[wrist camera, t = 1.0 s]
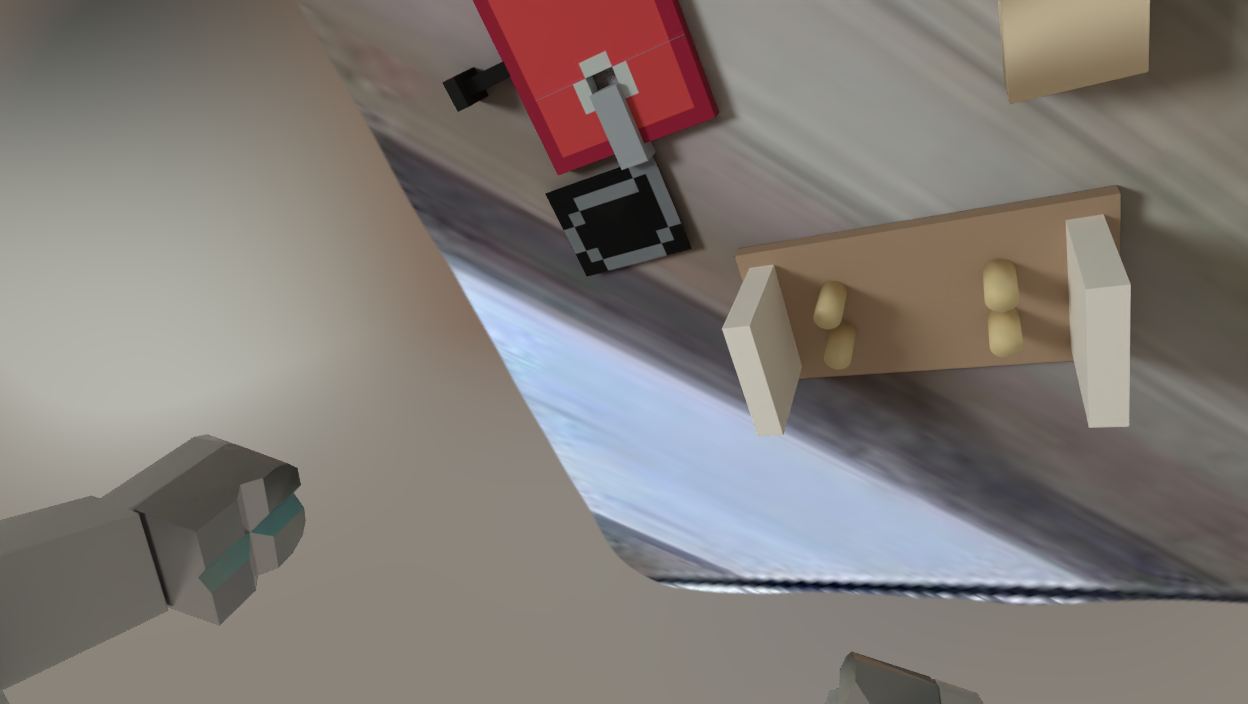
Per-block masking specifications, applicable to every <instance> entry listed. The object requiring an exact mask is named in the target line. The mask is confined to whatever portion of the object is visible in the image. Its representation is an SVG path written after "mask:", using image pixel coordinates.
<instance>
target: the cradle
mask: <svg viewBox="0 0 1248 704" xmlns="http://www.w3.org/2000/svg"><path fill="white" fill-rule="evenodd" d="M1120 223H1121V193H1120V191H1119V189H1118V187H1117V185H1116V186H1110V187H1104V188H1098V189H1092V190H1086V191H1080V192H1074V193H1068V194H1062V195H1056V196H1050V197H1044V198H1038V199H1032V200H1026V201H1020V202H1014V203H1008V204H1002V205H996V206H990V207H985V208H979V209H973V210H967V211H961V212H955V213H949V214H943V215H937V216H931V217H925V218H919V219H913V220H907V221H901V222H895V223H889V224H883V225H877V226H871V227H865V228H859V229H854V230H848V231H842V232H836V233H830V234H824V235H818V236H812V237H806V238H800V239H794V240H788V241H782V242H776V243H770V244H764V245H758V246H752V247H746V248H740V249H738V251H737V253H736V255H735V258H736V262H737V265H738V268H739V271H740V275H741V278H742V281H743V284H742V286H741V288H740V290H739V292H738V295H737V297H736V299H735V301H734V304H733V306H732V308H731V310H730V312H729V315H728V317H727V319H726V321H725V323H724V326H723V328H722V330H723V333H724V336H725V339H726V342H727V345H728V348H729V351H730V354H731V357H732V360H733V363H734V366H735V369H736V372H737V375H738V378H739V381H740V384H741V387H742V390H743V393H744V396H745V399H746V402H747V405H748V408H749V411H750V414H751V417H752V420H753V423H754V426H755V429H756V432H757V435H758V436H770V435H783V434H784V431H785V427H786V423H787V420H788V416H789V412H790V409H791V405H792V401H793V398H794V394H795V390H796V387H797V383H798V379H802V378H817V377H832V376H847V375H862V374H877V373H893V372H908V371H923V370H938V369H953V368H968V367H984V366H999V365H1014V364H1029V363H1044V362H1059V361H1074V363H1075V368H1076V372H1077V376H1078V381H1079V385H1080V390H1081V394H1082V398H1083V403H1084V407H1085V412H1086V416H1087V420H1088V425H1089V427H1129V384H1130V299H1131V284H1130V281H1129V279H1128V276H1127V274H1126V271H1125V269H1124V266H1123V263H1122V261H1121V258H1120Z"/></svg>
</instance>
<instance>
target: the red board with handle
mask: <svg viewBox="0 0 1248 704" xmlns="http://www.w3.org/2000/svg"><path fill="white" fill-rule="evenodd" d="M473 2H474V4H475V6H476V8H477V10H478V12H479V14H480V16H481V18H482V20H483V22H484V24H485V26H486V28H487V30H488V33H489V35H490V37H491V39H492V41H493V43H494V45H495V47H496V49H497V51H498V53H499V55H500V57H501V59H502V61H503V62H501V63H499V64H497V65H495V66H493V67H491V68H489V69H487V70H485V71H483V72H481V73H479V74H477V72H476V70H475V68H474V67H473V68H471V69H469V70H467V71H465V72H463V73H461V74H459V75H456V76H454V77H452V78H450V79H448V80H446V81H445V82H443V85H444V87H445V89H446V90H447V92H448V94H449V96H450V98H451V100H452V102H453V104H454V105H455V107H456V109H457V111H458V112H459V111H461V110H463V109H465V108H467V107H469V106H471V105H473V104H474V103H476V102H478V101H480V100H482V99H483V98H485V97H487V96H489V95H488V93H487V92H486V90H485V89H486V88H488V87H490V86H492V85H494V84H497V83H499V82H501V81H503V80H505V79H507V78H509V77H510V78H511V80H512V82H513V84H514V86H515V88H516V90H517V92H518V94H519V96H520V98H521V100H522V102H523V104H524V106H525V108H526V111H527V113H528V115H529V117H530V119H531V121H532V123H533V125H534V127H535V129H536V131H537V133H538V135H539V137H540V139H541V141H542V143H543V145H544V147H545V150H546V152H547V154H548V156H549V158H550V160H551V162H552V164H553V166H554V168H555V170H556V172H557V174H558V175H561V174H563V173H566V172H569V171H571V170H574V169H577V168H579V167H582V166H585V165H588V164H590V163H593V162H596V161H598V160H601V159H604V158H607V157H609V156H612V155H615V156H616V158H617V160H618V163H619V165H620V167H619V168H616V169H613V170H610V171H608V172H605V173H602V174H599V175H596V176H594V177H591V178H588V179H585V180H582V181H579V182H577V183H574V184H571V185H568V186H565V187H563V188H560V189H557V190H554V191H551V192H549V193H546V196H547V198H548V200H549V202H550V204H551V206H552V208H553V210H554V212H555V214H556V216H557V218H558V220H559V222H560V224H561V226H562V228H563V230H564V232H565V234H566V236H567V238H568V240H569V242H570V244H571V246H572V248H573V250H574V252H575V254H576V256H577V258H578V260H579V262H580V264H581V266H582V268H583V270H584V272H585V274H586V276H591V275H595V274H598V273H602V272H606V271H610V270H614V269H617V268H621V267H625V266H629V265H632V264H636V263H640V262H644V261H648V260H651V259H655V258H659V257H663V256H667V255H670V254H674V253H678V252H682V251H685V250H689V249H692V248H691V246H690V243H689V241H688V239H687V236H686V234H685V231H684V229H683V227H682V224H681V222H680V219H679V217H678V215H677V212H676V210H675V207H674V205H673V203H672V200H671V198H670V195H669V193H668V191H667V188H666V186H665V184H664V181H663V179H662V176H661V174H660V172H659V169H658V167H657V164H656V162H655V160H654V157H653V155H654V154H655V149H654V147H653V145H652V142H651V141H653V140H655V139H658V138H661V137H664V136H666V135H669V134H672V133H674V132H677V131H680V130H683V129H685V128H688V127H691V126H693V125H696V124H699V123H702V122H704V121H707V120H710V119H712V118H715V117H716V116H717V115H718V113H719V111H718V108H717V105H716V103H715V100H714V97H713V94H712V91H711V89H710V86H709V83H708V81H707V78H706V75H705V72H704V70H703V67H702V64H701V62H700V59H699V56H698V53H697V51H696V48H695V45H694V43H693V40H692V37H691V34H690V32H689V29H688V26H687V24H686V21H685V18H684V15H683V13H682V10H681V7H680V5H679V2H678V0H473ZM611 67H612V68H613V70H614V73H615V75H616V77H617V80H618V82H615V83H613V84H611V85H608V86H606V87H604V88H601V89H599V90H598V88H597V86H596V84H595V81H594V79H593V77H592V76H593V75H595V74H597V73H600V72H602V71H604V70H606V69H608V68H611Z"/></svg>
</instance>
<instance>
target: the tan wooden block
mask: <svg viewBox="0 0 1248 704" xmlns="http://www.w3.org/2000/svg"><path fill="white" fill-rule="evenodd" d="M998 4H999V17H1000V29H1001V42H1002V55H1003V67H1004V80H1005V85H1006V90H1007V94H1008V99H1009V103H1010V104H1013V103H1017V102H1021V101H1026V100H1030V99H1034V98H1039V97H1043V96H1047V95H1052V94H1056V93H1060V92H1065V91H1069V90H1073V89H1077V88H1082V87H1086V86H1090V85H1095V84H1099V83H1103V82H1108V81H1112V80H1116V79H1120V78H1125V77H1129V76H1133V75H1138V74H1142V73H1146V72H1148V71H1149V23H1150V0H998Z"/></svg>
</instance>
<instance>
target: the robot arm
mask: <svg viewBox="0 0 1248 704" xmlns="http://www.w3.org/2000/svg"><path fill="white" fill-rule="evenodd" d="M300 486H301V483H300V478H299V473H298V468H296V467H294V466H292V465H290V464H288V463H285V462H282V461H280V460H277V459H274V458H272V457H269V456H266V455H263V454H261V453H258V452H255V451H252V450H250V449H247V448H244V447H242V446H239V445H236V444H232V443H230V442H227V441H224V440H221V439H218V438H216V437H213V436H210V435H202V436H197V437H193V438H192V439H190V440H189V441H187V442H186V443H184V444H182V445H181V446H180V447H178V448H176V449H175V450H173V451H172V452H170V453H169V454H167V455H166V456H164V457H163V458H161V459H160V460H158V461H157V462H155V463H154V464H152V465H150V466H149V467H147V468H146V469H144V470H143V471H141V472H140V473H138V474H137V475H135V476H134V477H132V478H131V479H129V480H128V481H126V482H125V483H123V484H122V485H120V486H119V487H117V488H115V489H114V490H112V491H111V492H110V493H108V494H106V495H105V496H103V497H102V498H96V497H94V496H89V497H85V498H81V499H77V500H73V501H70V502H66V503H62V504H59V505H55V506H51V507H48V508H44V509H40V510H37V511H33V512H29V513H25V514H22V515H18V516H14V517H10V518H7V519H3V520H0V704H9V702H8V700H7V698H6V697H5V695H4V693H3V691H2V690H4V689H6V688H8V687H10V686H12V685H14V684H17V683H19V682H21V681H23V680H25V679H27V678H29V677H31V676H33V675H35V674H37V673H39V672H42V671H44V670H46V669H48V668H50V667H52V666H54V665H56V664H58V663H60V662H62V661H65V660H67V659H68V658H71V657H73V656H75V655H77V654H79V653H81V652H83V651H85V650H87V649H90V648H91V647H94V646H96V645H97V644H100V643H102V642H104V641H106V640H108V639H110V638H112V637H115V636H116V635H119V634H121V633H123V632H125V631H126V630H129V629H131V628H133V627H135V626H137V625H140V624H142V623H144V622H146V621H148V620H150V619H152V618H154V617H156V616H158V615H160V614H162V613H165V612H167V611H168V607H169V608H172V609H175V610H178V611H181V612H183V613H186V614H189V615H191V616H194V617H197V618H200V619H203V620H206V621H208V622H211V623H214V624H216V625H221V624H222V623H223V622H224V621H225V620H226V619H227V618H228V617H229V616H230V615H231V614H232V613H233V612H234V611H235V610H236V609H237V608H238V607H239V606H240V605H241V604H242V603H243V602H244V601H245V600H246V599H247V598H248V597H249V596H250V595H251V594H252V593H253V592H255V591H256V586H257V580H258V575H261V574H264V573H266V572H269V571H271V570H274V569H277V568H279V567H280V566H281V565H282V564H283V563H284V561H285V560H287V559H288V557H289V556H290V555H291V554H292V553H293V552H294V550H295V548H296V546H297V545H298V543H299V541H300V539H301V537H302V535H303V531H304V526H305V511H304V507H303V506H302V504H301V503H300V501H299V500H298V498H297V497H296V496H295V494H294V492H295V491H296V490H297V489H298V488H299V487H300ZM839 685H840V686H839V688H836V689H834V690H831V691H830V692H829V694H828V697H827V699H826V702H825V704H983V702H982V700H981V698H980V697H979V695H978V694H977V693H975V692H972V691H969V690H966V689H963V688H960V687H957V686H954V685H951V684H948V683H945V682H942V681H939V680H936V679H931V678H930V677H929V676H926V675H922V674H919V673H916V672H913V671H910V670H907V669H904V668H901V667H898V666H894V665H892V664H889V663H885V662H882V661H879V660H876V659H873V658H870V657H866V656H864V655H860V654H858V653H854V652H850V653H849V654H848V655H847V656H846V658H845V660H844V662H843V664H842V666H841V668H840V683H839Z"/></svg>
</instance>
